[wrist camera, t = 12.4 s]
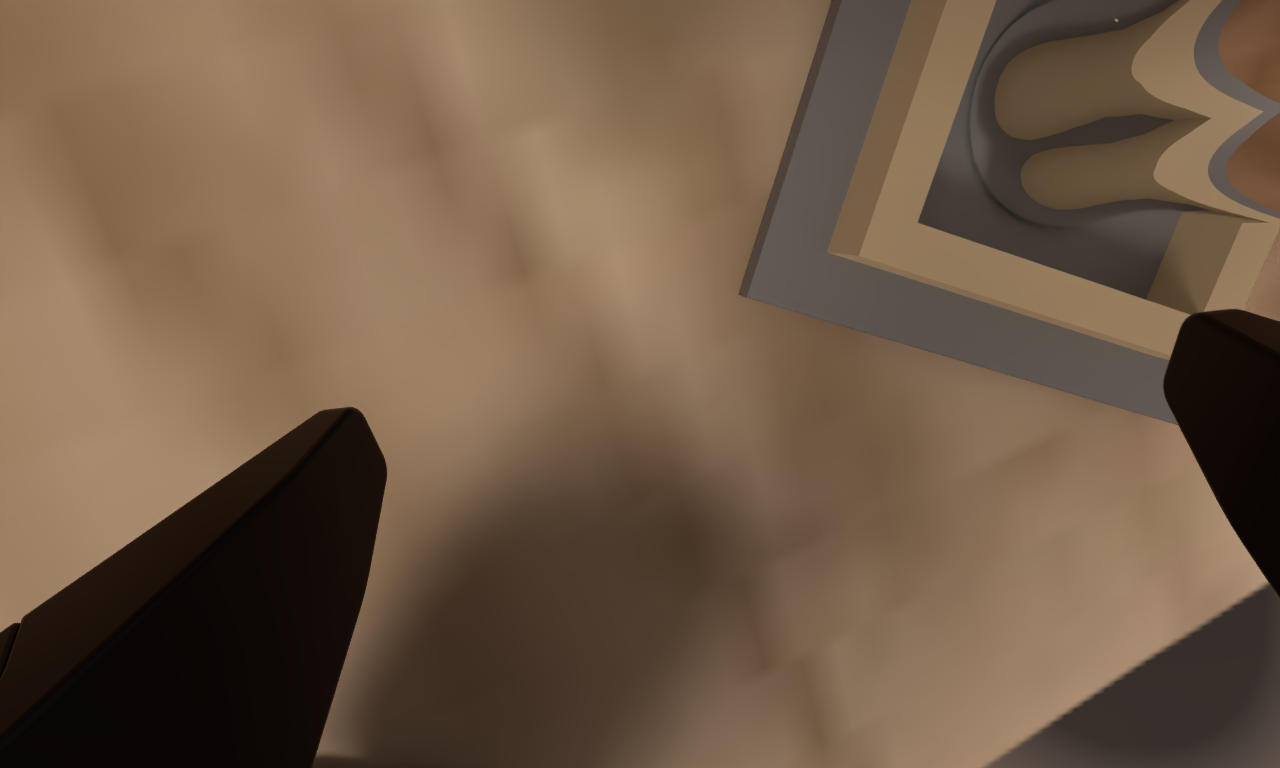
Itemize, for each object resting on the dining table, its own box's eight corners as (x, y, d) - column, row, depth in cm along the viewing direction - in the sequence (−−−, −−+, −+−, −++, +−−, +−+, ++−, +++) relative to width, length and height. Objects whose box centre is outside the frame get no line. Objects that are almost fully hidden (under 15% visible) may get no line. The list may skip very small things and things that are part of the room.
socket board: (1158, 418, 24) (1239, 444, 21) (738, 294, 21) (770, 305, 18) (1366, -61, 21) (1488, -101, 19) (922, -284, 18) (992, -372, 16)
